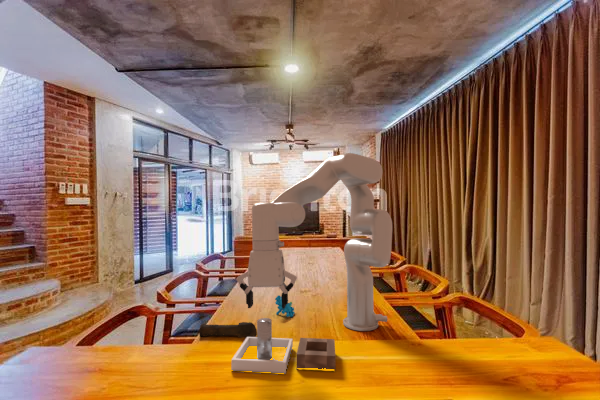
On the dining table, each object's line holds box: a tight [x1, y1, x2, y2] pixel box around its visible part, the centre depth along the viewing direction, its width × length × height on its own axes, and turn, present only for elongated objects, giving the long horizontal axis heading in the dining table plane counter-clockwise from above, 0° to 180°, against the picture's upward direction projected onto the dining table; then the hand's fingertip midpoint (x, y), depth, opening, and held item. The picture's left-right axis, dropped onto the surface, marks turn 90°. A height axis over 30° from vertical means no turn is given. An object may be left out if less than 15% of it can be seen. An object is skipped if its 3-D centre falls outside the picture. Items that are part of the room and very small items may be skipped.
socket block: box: [296, 337, 336, 370], centre depth 77 cm, size 10×10×4 cm
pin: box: [256, 317, 273, 360], centre depth 78 cm, size 4×4×10 cm
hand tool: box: [198, 321, 257, 339], centre depth 93 cm, size 19×4×5 cm, turn 85°
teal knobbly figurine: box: [274, 295, 296, 318], centre depth 114 cm, size 11×6×10 cm
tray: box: [230, 336, 294, 375], centre depth 78 cm, size 14×14×3 cm
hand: (267, 306), depth 79 cm, fingers open, 9 cm apart
